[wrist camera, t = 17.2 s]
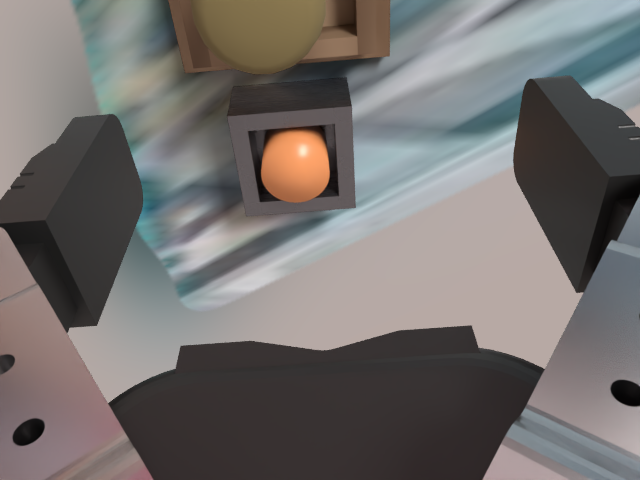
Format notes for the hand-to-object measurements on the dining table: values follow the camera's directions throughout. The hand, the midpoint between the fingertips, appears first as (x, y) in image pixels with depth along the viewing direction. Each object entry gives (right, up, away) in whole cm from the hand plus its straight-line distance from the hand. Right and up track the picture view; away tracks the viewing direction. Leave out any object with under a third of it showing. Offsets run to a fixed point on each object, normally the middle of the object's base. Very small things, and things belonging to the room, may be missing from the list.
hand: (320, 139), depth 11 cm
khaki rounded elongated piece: (-3, +13, +18) cm, 22 cm away
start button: (-2, +4, +24) cm, 24 cm away
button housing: (-2, +5, +25) cm, 26 cm away
